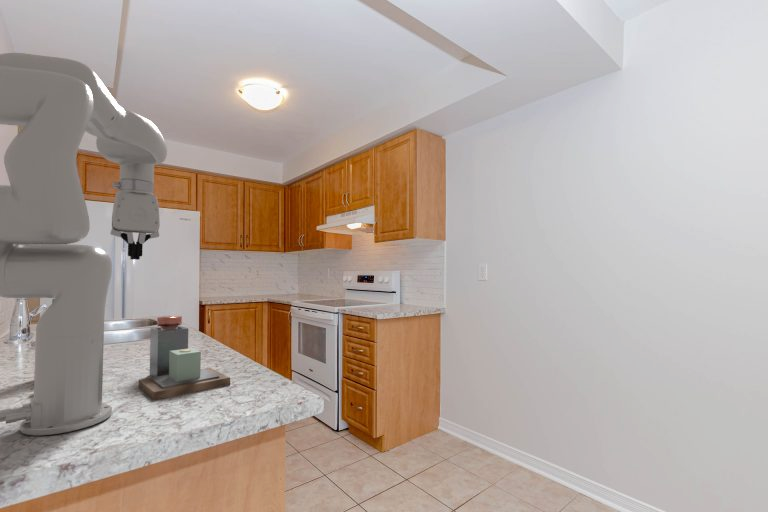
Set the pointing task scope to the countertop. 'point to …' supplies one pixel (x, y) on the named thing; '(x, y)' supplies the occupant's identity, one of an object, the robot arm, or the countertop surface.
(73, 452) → the countertop surface
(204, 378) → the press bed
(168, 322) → the push button
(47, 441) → the countertop surface
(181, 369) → the block
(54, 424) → the robot arm
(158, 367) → the column
